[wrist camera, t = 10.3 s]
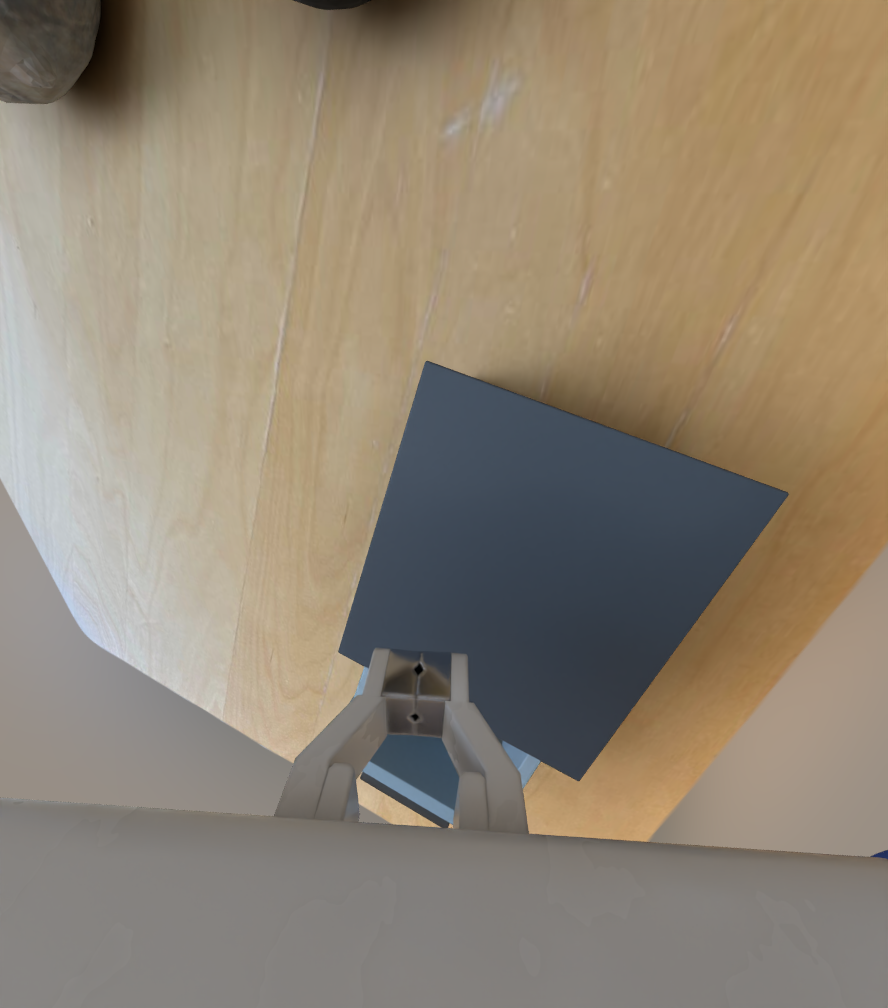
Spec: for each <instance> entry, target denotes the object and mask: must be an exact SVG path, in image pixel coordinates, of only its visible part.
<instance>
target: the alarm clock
mask: <svg viewBox="0 0 888 1008" xmlns="http://www.w3.org/2000/svg"><path fill="white" fill-rule="evenodd" d="M294 1H297V2H300V3H303V4H306V5H309V6H312V7H315V8H319V9H324V10H335V9H347V8H354V7H357V6H360V5H362V4H365V3H367V2H369V1H371V0H294Z"/></svg>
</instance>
